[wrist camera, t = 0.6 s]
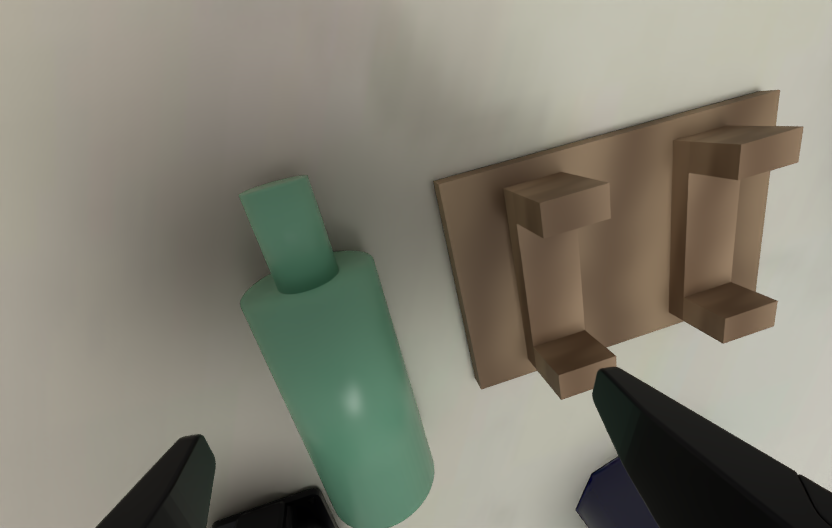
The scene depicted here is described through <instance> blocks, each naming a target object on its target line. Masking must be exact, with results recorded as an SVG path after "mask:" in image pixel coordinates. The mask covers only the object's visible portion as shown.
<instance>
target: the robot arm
mask: <svg viewBox="0 0 832 528" xmlns="http://www.w3.org/2000/svg"><path fill="white" fill-rule="evenodd" d="M592 397H593V401H594V404H595V406H596V408H597V410H598V412H599V415H600V417H601V419H602V421H603V423H604V425H605V428H606V430H607V432H608V434H609V436H610V438H611V441H612V443H613V445H614V447H615V449H616V451H617V454H618V456H619V458H620V460H621V462H622V464H623V466H624V467H625V469H626V471H627V473H628V475H629V476H630V478H631V480H632V482H633V483H634V485H635V487H636V488H637V490H638V492H639V494H640V495H641V497H642V499H643V500H644V502H645V504H646V506H647V507H648V509H649V511H650V512H651V514H652V516H653V517H654V519H655V521H656V523H657V524H658V526H659V528H832V492H830V491H828V490H827V489H825V488H823V487H821V486H820V485H818V484H816V483H815V482H813V481H811V480H809V479H808V478H806V477H804V476H803V475H798V474H797V473H796V472H795V471H794V470H792V469H791V468H789V467H787V466H785V465H784V464H782V463H780V462H779V461H777V460H775V459H773V458H772V457H770V456H768V455H767V454H765V453H763V452H762V451H760V450H758V449H756V448H755V447H753V446H751V445H750V444H748V443H746V442H745V441H743V440H741V439H739V438H738V437H736V436H734V435H733V434H731V433H729V432H728V431H726V430H724V429H722V428H721V427H719V426H717V425H716V424H714V423H712V422H711V421H709V420H707V419H705V418H704V417H702V416H700V415H699V414H697V413H695V412H694V411H692V410H690V409H688V408H687V407H685V406H683V405H682V404H680V403H678V402H676V401H675V400H673V399H671V398H670V397H668V396H666V395H665V394H663V393H661V392H659V391H658V390H656V389H654V388H653V387H651V386H649V385H648V384H646V383H644V382H642V381H641V380H639V379H637V378H636V377H634V376H632V375H631V374H629V373H627V372H625V371H624V370H622V369H620V368H618V367H615V366H613V367H606V368H601V369H599V370H598V371H597V374H596V378H595V383H594V387H593V392H592ZM215 465H216V463H215V457H214V455H213V453H212V451H211V449H210V447H209V445H208V443H207V441H206V439H205V438H204V436H203V435H201V434H196V435H190V436H185V437H182V438H180V439H179V440H177V441H176V442H175V443H174V445H173V446H172V447H171V448H170V449H169V450H168V451H167V452H166V453H165V454H164V455H163V456H162V457H161V458H160V459H159V460H158V462H157V463H156V464H155V465H154V466H153V467H152V468H151V469H150V470H149V471H148V472H147V473H146V474H145V475H144V476H143V478H142V479H141V480H140V481H139V482H138V483H137V484H136V485H135V486H134V487H133V488H132V489H131V490H130V491H129V492H128V493H127V495H126V496H125V497H124V498H123V499H122V500H121V501H120V502H119V503H118V504H117V505H116V506H115V507H114V508H113V509H112V510H111V512H110V513H109V514H108V515H107V516H106V517H105V518H104V519H103V520H102V521H101V522H100V523H99V524H98V525H97V526H96V528H206V525H207V518H208V512H209V506H210V499H211V493H212V486H213V480H214V474H215ZM313 497H314V498H313ZM212 528H338V527H337V525H336V523H335V520H334V518H333V516H332V514H331V512H330V510H329V508H328V506H327V504H326V501H325V499H324V497H323V495H322V493H321V491H320V490H318V489H315V488H313V489H309V490H306V491H303V492H300V493H297V494H294V495H292V496H289V497H286V498H283V499H280V500H277V501H274V502H271V503H269V504H266V505H263V506H260V507H257V508H254V509H251V510H248V511H246V512H243V513H240V514H237V515H234V516H231V517H228V518H225V519H223V520H220V521H217V522H215V523H214V524H213V525H212Z"/></svg>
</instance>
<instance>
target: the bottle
mask: <svg viewBox="0 0 832 528" xmlns="http://www.w3.org/2000/svg"><path fill="white" fill-rule="evenodd" d="M576 511H577V513H578V514H579V515H580V517H581V518H582V519H583V521H584V522H585V523H586V525H587V526H588V528H659V526H658V524H657V523H656V521H655V519H654V517H653V516H652V514H651V512H650V511H649V509H648V507H647V506H646V504H645V502H644V500H643V499H642V497H641V495H640V494H639V492H638V490H637V488H636V487H635V485H634V483H633V482H632V480H631V478H630V476H629V475H628V473H627V471H626V469H625V467H624V466H623V464H622V462H621V460H620V458H619V456H618V457H617V458H615V459H614V460H612V461H611V462H609V463H608V464H606V465H605V466H603V467H601V468H600V469H598V470H597V471H595V472H594V473H592V474H591V477H590V479H589V481H588V483H587V486H586V488H585V490H584V492H583V495H582V497H581V499H580V501H579V503H578V506H577V508H576Z"/></svg>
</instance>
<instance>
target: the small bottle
mask: <svg viewBox="0 0 832 528" xmlns="http://www.w3.org/2000/svg"><path fill="white" fill-rule="evenodd" d="M239 198H240V200H241V202H242V205H243V207H244V210H245V212H246V215H247V217H248V219H249V222H250V224H251V227H252V229H253V231H254V234H255V236H256V239H257V241H258V244H259V246H260V248H261V251H262V253H263V256H264V258H265V260H266V263H267V265H268V268H269V270H270V273H271V274H269V275H267V276H266V277H264V278H263V279H261V280H260V281H258V282H257V283H255V284H254V285H253V286H252V287H251V288H249V289H248V290H247V292H246V293H245V294H244V295H243V297H242V299H241V301H240V306H241V309H242V311H243V313H244V315H245V317H246V320H247V322H248V324H249V326H250V328H251V330H252V332H253V335H254V337H255V339H256V341H257V343H258V345H259V348H260V350H261V352H262V354H263V356H264V358H265V360H266V363H267V365H268V367H269V369H270V371H271V373H272V376H273V378H274V380H275V382H276V384H277V386H278V388H279V391H280V393H281V395H282V397H283V399H284V401H285V404H286V406H287V408H288V410H289V412H290V414H291V417H292V419H293V421H294V423H295V425H296V427H297V429H298V432H299V434H300V436H301V438H302V440H303V442H304V445H305V447H306V449H307V451H308V453H309V455H310V457H311V460H312V462H313V464H314V466H315V468H316V470H317V473H318V475H319V477H320V479H321V481H322V483H323V485H324V488H325V490H326V492H327V494H328V496H329V498H330V501H331V503H332V505H333V507H334V509H335V511H336V513H337V515H338V516H339V517H340V519H341V520H342V521H343V522H345V523H346V524H347V525H349V526H351V527H353V528H389V527H392V526H394V525H396V524H398V523H400V522H402V521H404V520H405V519H406V518H408V517H409V516H410V515H412V514H413V513H414V512H415V511H416V510H417V509H418V508H419V507H420V506H421V504H422V503H423V501H424V500H425V499H426V497H427V495H428V493H429V491H430V489H431V486H432V483H433V479H434V463H433V459H432V455H431V452H430V448H429V445H428V442H427V438H426V435H425V432H424V428H423V425H422V421H421V418H420V415H419V411H418V408H417V405H416V401H415V398H414V394H413V391H412V388H411V384H410V381H409V378H408V374H407V371H406V368H405V364H404V361H403V357H402V354H401V351H400V347H399V344H398V341H397V337H396V334H395V330H394V327H393V324H392V320H391V317H390V314H389V310H388V307H387V303H386V300H385V297H384V293H383V290H382V287H381V283H380V280H379V276H378V273H377V270H376V266H375V263H374V260H373V257H372V256H371V255H369V254H368V253H365V252H361V251H337V252H333V250H332V247H331V244H330V241H329V238H328V235H327V232H326V229H325V226H324V223H323V220H322V217H321V214H320V211H319V208H318V205H317V202H316V199H315V196H314V193H313V190H312V187H311V184H310V181H309V178H308V176H307V175H300V176H294V177H289V178H285V179H281V180H277V181H273V182H270V183H267V184H263V185H260V186H257V187H254V188H252V189H249V190H247V191H244V192H242V193H241V194H239Z"/></svg>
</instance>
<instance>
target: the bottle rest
mask: <svg viewBox="0 0 832 528" xmlns="http://www.w3.org/2000/svg"><path fill="white" fill-rule="evenodd" d="M779 95H780V90H770V91H759V92H755V93H751V94H748V95H744V96H741V97H737V98H733V99H730V100H726V101H722V102H719V103H715V104H712V105H708V106H704V107H701V108H697V109H693V110H690V111H686V112H683V113H679V114H675V115H672V116H668V117H664V118H661V119H657V120H653V121H650V122H646V123H643V124H639V125H635V126H632V127H628V128H624V129H621V130H617V131H614V132H610V133H606V134H603V135H599V136H595V137H592V138H588V139H585V140H581V141H577V142H574V143H570V144H566V145H563V146H559V147H555V148H552V149H548V150H545V151H541V152H537V153H534V154H530V155H526V156H523V157H519V158H516V159H512V160H508V161H505V162H501V163H497V164H494V165H490V166H487V167H483V168H479V169H476V170H472V171H468V172H465V173H461V174H458V175H454V176H450V177H447V178H443V179H439V180H436V181H433V182H434V187H435V192H436V196H437V201H438V206H439V210H440V215H441V220H442V224H443V229H444V234H445V238H446V243H447V248H448V253H449V257H450V262H451V267H452V271H453V276H454V281H455V285H456V290H457V295H458V299H459V304H460V309H461V313H462V318H463V323H464V327H465V332H466V337H467V342H468V346H469V351H470V356H471V360H472V365H473V370H474V374H475V379H476V381H477V382H478V384H479V386H480V388H481V389H484V388H487V387H490V386H493V385H496V384H499V383H502V382H505V381H508V380H511V379H514V378H517V377H520V376H523V375H526V374H529V373H532V372H535V371H538V372H539V373H540V374H541V376H542V377H543V378H544V379H545V381H546V382H547V383H548V384H549V385H550V387H551V388H552V389H553V390H554V392H555V393H556V394H557V395H558V396H559V398H560V399H561V400H562V399H565V398H568V397H571V396H574V395H577V394H579V393H582V392H585V391H588V390H591V389H593V387H594V383H595V378H596V374H597V371H598V370H599V369H601V368H606V367H613V366H615V367H616V356H615V355H614V354H613V353H612V352H611V351H609V350H608V349H607V348H606V347H609V346H612V345H615V344H618V343H621V342H624V341H627V340H630V339H633V338H636V337H639V336H642V335H644V334H647V333H650V332H653V331H656V330H659V329H662V328H665V327H668V326H671V325H674V324H677V323H680V322H683V321H685V322H686V323H688V324H690V325H692V326H693V327H695V328H697V329H699V330H700V331H702V332H704V333H706V334H707V335H709V336H711V337H713V338H714V339H716V340H718V341H720V342H721V343H726V342H729V341H732V340H735V339H738V338H741V337H744V336H747V335H749V334H752V333H755V332H758V331H761V330H764V329H767V328H770V327H772V326H774V322H775V315H776V309H777V302H778V301H776V300H774V299H771V298H769V297H767V296H764V295H762V294H759V293H757V292H756V283H757V275H758V267H759V259H760V251H761V242H762V234H763V226H764V218H765V210H766V201H767V193H768V185H769V177H770V171H771V170H774V169H777V168H781V167H784V166H787V165H791V164H794V163H797V162H798V160H799V153H800V147H801V140H802V133H803V127H795V126H776V119H777V111H778V103H779Z"/></svg>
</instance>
